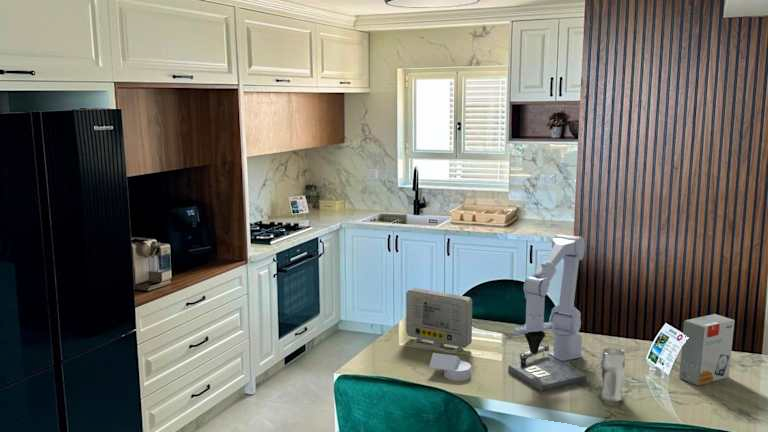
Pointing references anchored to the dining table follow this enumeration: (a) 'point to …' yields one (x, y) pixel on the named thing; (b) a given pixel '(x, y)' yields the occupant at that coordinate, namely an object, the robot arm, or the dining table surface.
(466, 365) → the wedge on round base
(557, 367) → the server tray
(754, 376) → the dining table surface
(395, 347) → the dining table surface
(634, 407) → the dining table surface
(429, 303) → the network device
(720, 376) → the hard drive box
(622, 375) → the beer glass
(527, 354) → the grey ball-ended handle
